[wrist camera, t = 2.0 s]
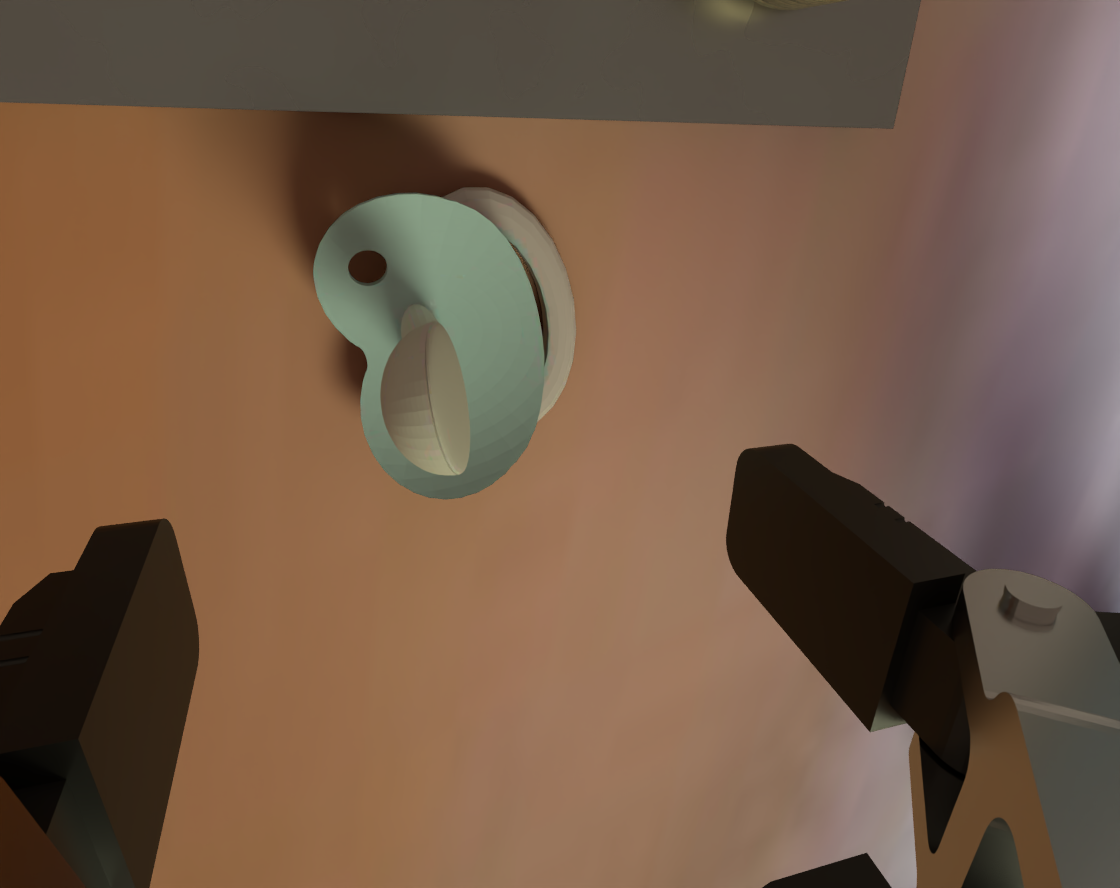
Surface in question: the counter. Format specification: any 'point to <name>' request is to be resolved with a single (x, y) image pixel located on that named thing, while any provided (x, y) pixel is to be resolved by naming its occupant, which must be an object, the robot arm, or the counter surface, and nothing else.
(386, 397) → the pacifier
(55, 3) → the grey ring holder
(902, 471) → the counter surface
